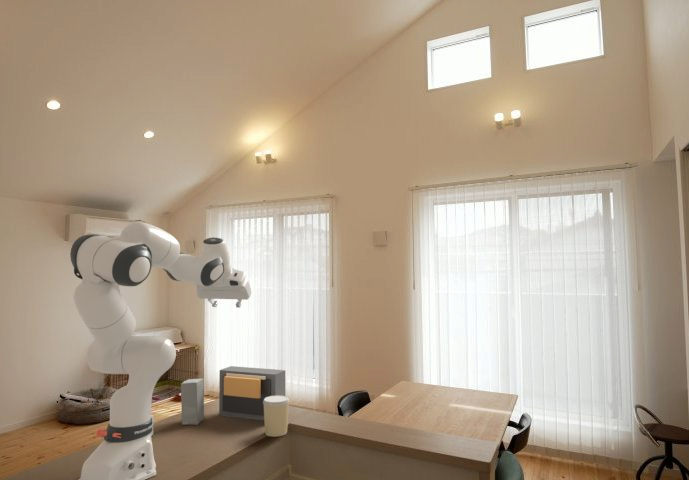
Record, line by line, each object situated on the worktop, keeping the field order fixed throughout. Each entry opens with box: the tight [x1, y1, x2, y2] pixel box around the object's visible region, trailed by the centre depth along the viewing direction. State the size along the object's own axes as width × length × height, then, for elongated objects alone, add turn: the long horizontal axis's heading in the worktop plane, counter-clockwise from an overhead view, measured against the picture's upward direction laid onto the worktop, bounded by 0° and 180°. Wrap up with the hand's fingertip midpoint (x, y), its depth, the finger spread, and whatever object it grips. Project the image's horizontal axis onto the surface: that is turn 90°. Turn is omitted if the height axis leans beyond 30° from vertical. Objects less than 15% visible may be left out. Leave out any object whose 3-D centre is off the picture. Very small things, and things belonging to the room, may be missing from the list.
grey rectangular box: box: [218, 365, 286, 422], centre depth 182 cm, size 9×26×18 cm, turn 69°
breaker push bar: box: [224, 376, 261, 399], centre depth 177 cm, size 3×16×7 cm, turn 69°
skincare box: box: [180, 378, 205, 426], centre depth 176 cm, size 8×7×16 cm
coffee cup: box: [263, 395, 290, 438], centre depth 163 cm, size 9×9×12 cm
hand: (226, 306), depth 174 cm, fingers open, 8 cm apart
